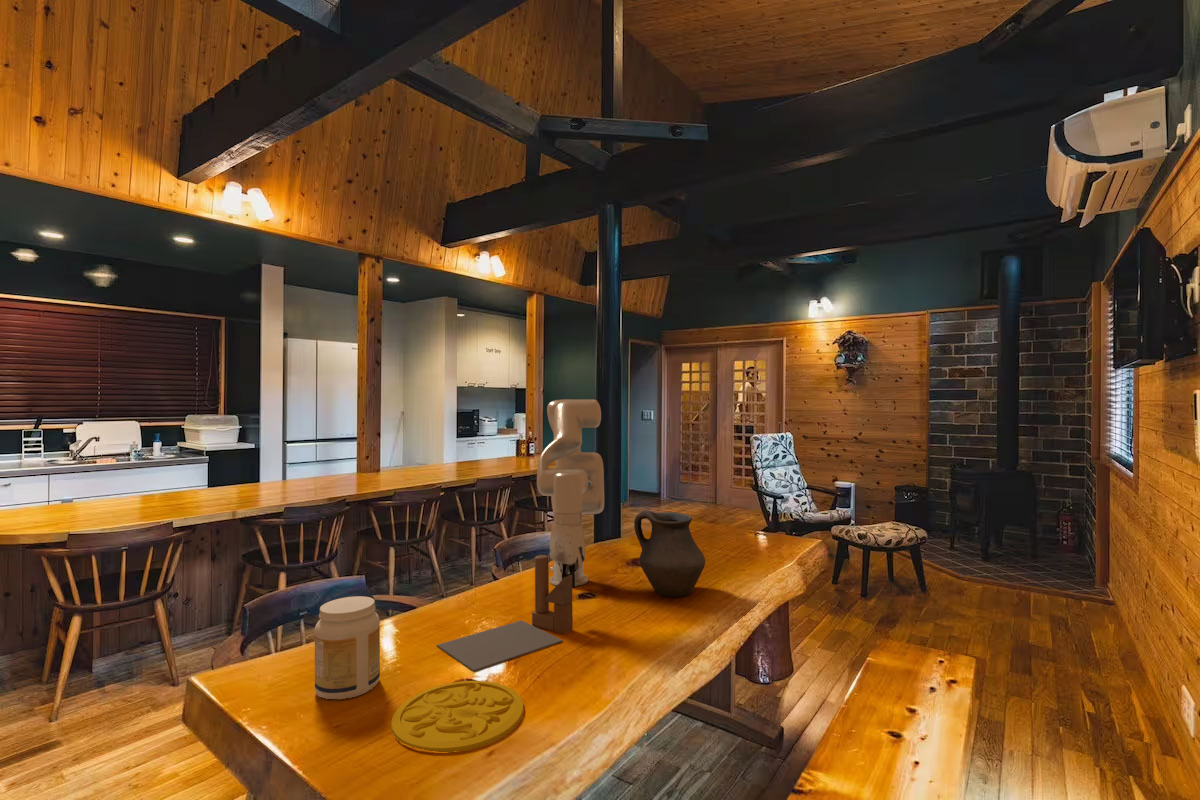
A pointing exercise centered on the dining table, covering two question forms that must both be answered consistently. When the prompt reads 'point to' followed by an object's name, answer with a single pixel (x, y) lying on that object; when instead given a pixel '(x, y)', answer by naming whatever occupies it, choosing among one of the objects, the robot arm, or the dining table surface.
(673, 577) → the pitcher
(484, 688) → the decorative medallion
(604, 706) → the dining table surface
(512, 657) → the mat
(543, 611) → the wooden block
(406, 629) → the dining table surface
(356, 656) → the supplement tub
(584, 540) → the robot arm
